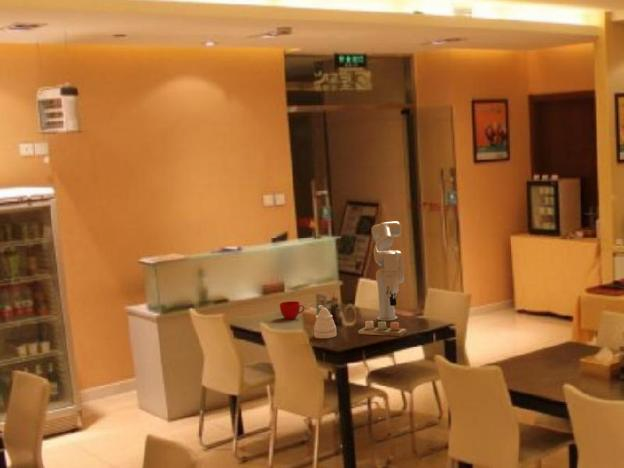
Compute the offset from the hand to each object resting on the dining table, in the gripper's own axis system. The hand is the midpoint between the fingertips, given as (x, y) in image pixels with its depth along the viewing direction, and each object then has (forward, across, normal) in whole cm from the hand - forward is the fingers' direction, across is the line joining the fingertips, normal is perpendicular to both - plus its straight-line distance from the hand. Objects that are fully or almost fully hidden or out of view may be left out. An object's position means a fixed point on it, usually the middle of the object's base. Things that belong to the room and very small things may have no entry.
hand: (393, 305), depth 496 cm
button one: (+14, 0, -16) cm, 21 cm away
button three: (+14, 0, 0) cm, 14 cm away
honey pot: (+17, +14, -38) cm, 44 cm away
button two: (+14, 0, -8) cm, 16 cm away
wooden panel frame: (+16, 0, -8) cm, 18 cm away
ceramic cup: (+16, -27, -84) cm, 90 cm away
